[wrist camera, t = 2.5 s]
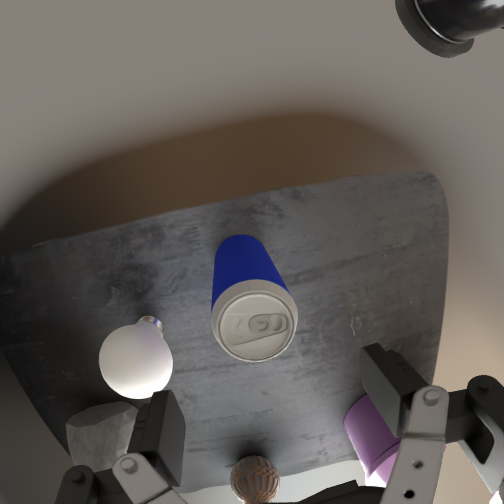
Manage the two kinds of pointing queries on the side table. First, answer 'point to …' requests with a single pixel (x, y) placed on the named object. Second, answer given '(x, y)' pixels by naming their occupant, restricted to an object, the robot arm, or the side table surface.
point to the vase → (255, 480)
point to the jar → (372, 441)
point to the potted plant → (101, 434)
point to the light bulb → (136, 359)
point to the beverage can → (250, 302)
